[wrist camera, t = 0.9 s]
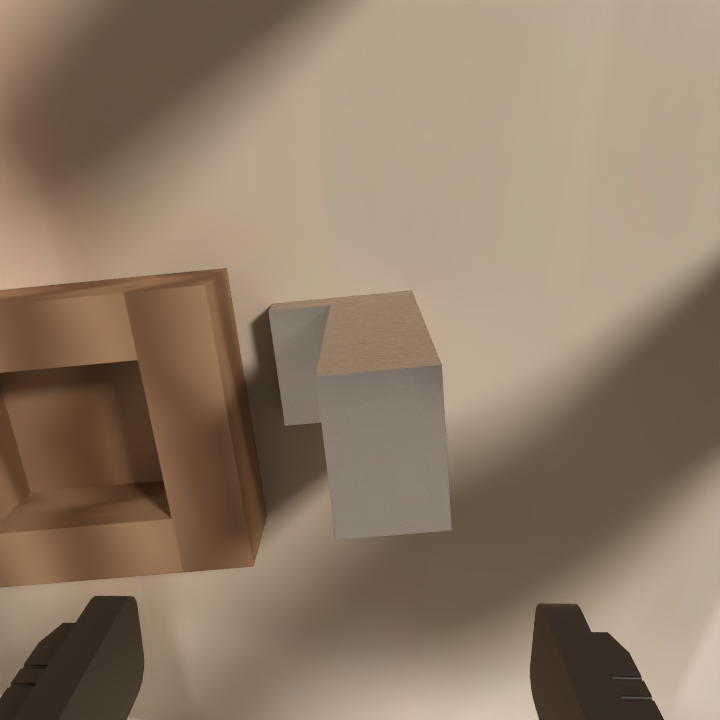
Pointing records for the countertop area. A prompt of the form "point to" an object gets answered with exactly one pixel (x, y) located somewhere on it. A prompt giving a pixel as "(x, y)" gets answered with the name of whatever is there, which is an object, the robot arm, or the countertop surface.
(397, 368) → the grey block
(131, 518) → the well block
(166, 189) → the countertop surface
